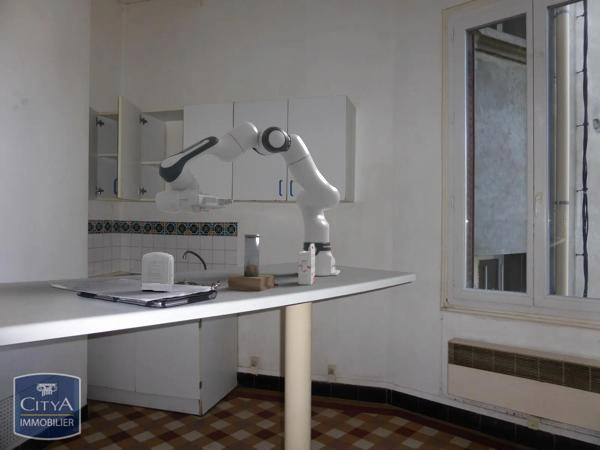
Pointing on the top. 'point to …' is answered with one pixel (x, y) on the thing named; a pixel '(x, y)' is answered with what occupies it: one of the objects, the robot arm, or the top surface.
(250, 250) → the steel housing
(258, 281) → the walnut plinth
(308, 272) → the ink cartridge box
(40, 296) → the top surface
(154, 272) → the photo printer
